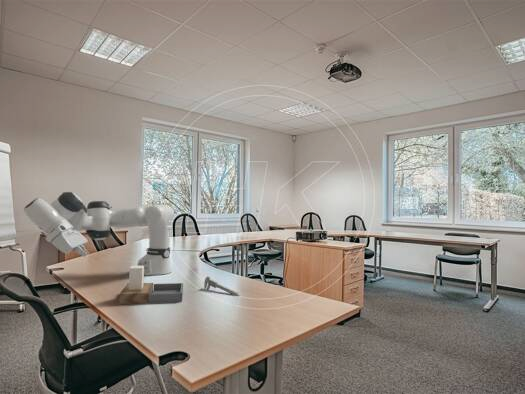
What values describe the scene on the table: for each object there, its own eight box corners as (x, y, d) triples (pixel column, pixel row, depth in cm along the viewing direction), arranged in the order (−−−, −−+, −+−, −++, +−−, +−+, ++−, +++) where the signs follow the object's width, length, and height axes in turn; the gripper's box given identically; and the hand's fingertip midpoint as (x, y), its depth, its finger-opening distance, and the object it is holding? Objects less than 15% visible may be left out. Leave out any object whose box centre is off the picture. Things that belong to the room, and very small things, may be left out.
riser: (119, 304, 126) (119, 294, 126) (127, 292, 142) (127, 283, 142) (148, 302, 128) (148, 293, 128) (153, 291, 144) (153, 282, 144)
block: (128, 289, 132) (129, 268, 132) (131, 286, 137) (131, 265, 137) (141, 289, 133) (142, 268, 133) (143, 286, 138) (144, 265, 138)
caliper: (204, 288, 152) (204, 275, 152) (205, 288, 153) (206, 275, 153) (238, 296, 141) (239, 282, 141) (240, 296, 142) (240, 282, 142)
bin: (148, 302, 129) (149, 294, 129) (153, 291, 144) (153, 283, 144) (181, 301, 131) (182, 293, 131) (183, 290, 147) (183, 283, 147)
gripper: (64, 233, 138) (88, 256, 140) (43, 240, 118) (71, 265, 120) (76, 223, 139) (99, 246, 141) (57, 228, 119) (84, 253, 121)
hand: (86, 255), depth 131 cm, fingers closed
